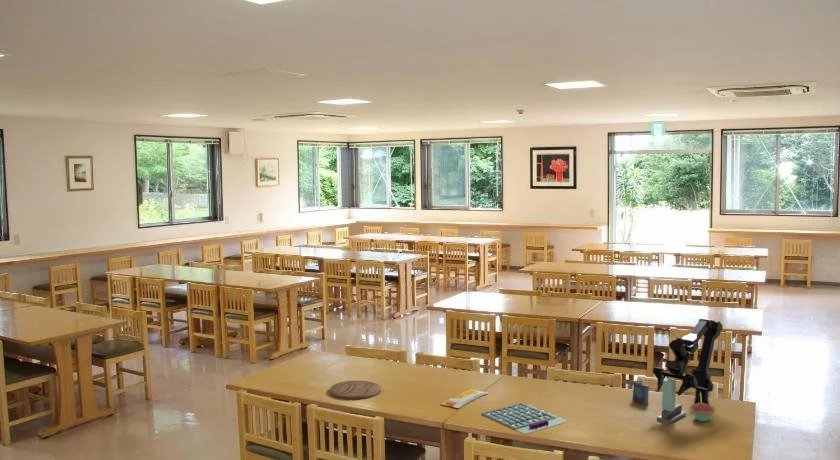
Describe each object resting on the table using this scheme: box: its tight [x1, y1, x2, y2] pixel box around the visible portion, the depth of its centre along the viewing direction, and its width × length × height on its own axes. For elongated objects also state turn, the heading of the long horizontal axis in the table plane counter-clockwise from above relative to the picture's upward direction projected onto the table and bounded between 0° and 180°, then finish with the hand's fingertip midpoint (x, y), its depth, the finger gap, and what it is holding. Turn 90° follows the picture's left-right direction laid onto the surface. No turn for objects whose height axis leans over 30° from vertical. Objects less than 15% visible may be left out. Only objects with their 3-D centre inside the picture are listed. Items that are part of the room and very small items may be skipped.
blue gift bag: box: [632, 379, 650, 406], centre depth 331 cm, size 9×3×11 cm, turn 25°
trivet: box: [328, 380, 381, 401], centre depth 347 cm, size 25×25×2 cm
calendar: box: [481, 402, 571, 435], centre depth 310 cm, size 27×28×2 cm
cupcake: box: [692, 392, 715, 422], centre depth 308 cm, size 9×8×12 cm
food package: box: [440, 388, 489, 409], centre depth 335 cm, size 27×2×10 cm
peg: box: [661, 377, 677, 412], centre depth 307 cm, size 4×4×13 cm
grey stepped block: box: [656, 402, 687, 425], centre depth 310 cm, size 15×6×4 cm, turn 134°
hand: (668, 392), depth 307 cm, fingers open, 9 cm apart
